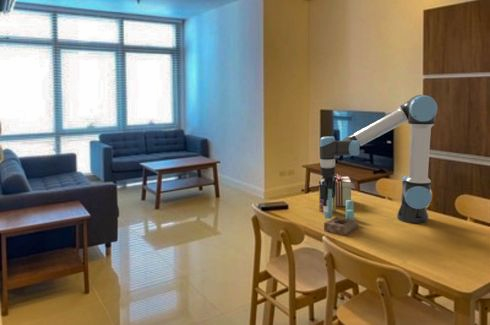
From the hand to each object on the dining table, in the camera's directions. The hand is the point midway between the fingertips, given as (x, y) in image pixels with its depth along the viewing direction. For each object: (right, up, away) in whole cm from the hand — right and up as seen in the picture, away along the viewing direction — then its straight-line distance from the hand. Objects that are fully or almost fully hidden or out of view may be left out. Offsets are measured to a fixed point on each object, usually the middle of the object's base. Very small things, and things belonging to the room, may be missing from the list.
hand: (328, 210), depth 218 cm
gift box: (+11, 0, +35) cm, 37 cm away
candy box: (+4, -3, +20) cm, 21 cm away
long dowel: (0, -4, +1) cm, 4 cm away
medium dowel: (+12, -5, +5) cm, 14 cm away
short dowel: (+11, -6, -3) cm, 13 cm away
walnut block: (+4, -8, -12) cm, 15 cm away
